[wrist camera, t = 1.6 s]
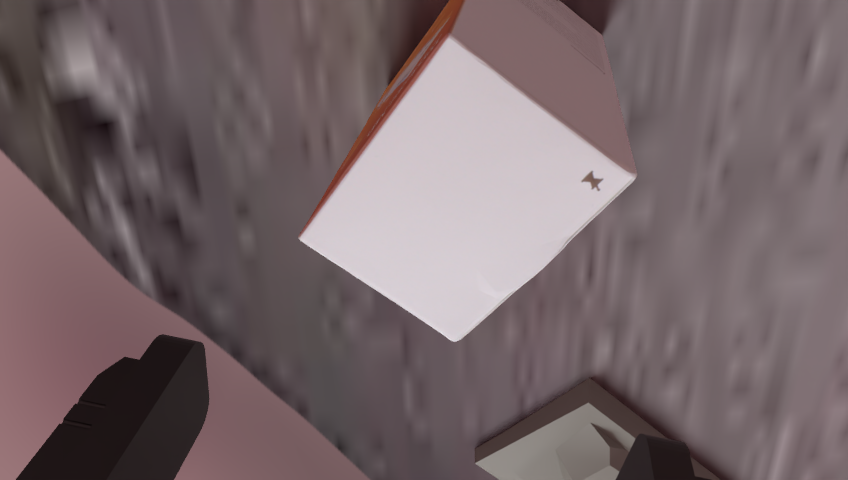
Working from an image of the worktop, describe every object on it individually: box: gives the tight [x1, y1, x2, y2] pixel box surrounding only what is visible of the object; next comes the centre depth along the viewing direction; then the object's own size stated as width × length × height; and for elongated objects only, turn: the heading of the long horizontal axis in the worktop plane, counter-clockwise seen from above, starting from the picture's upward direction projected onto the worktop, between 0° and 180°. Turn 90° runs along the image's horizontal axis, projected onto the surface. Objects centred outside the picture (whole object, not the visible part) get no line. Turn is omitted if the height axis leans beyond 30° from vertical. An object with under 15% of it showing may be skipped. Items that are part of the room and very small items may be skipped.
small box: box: [298, 0, 637, 342], centre depth 23 cm, size 8×6×13 cm
